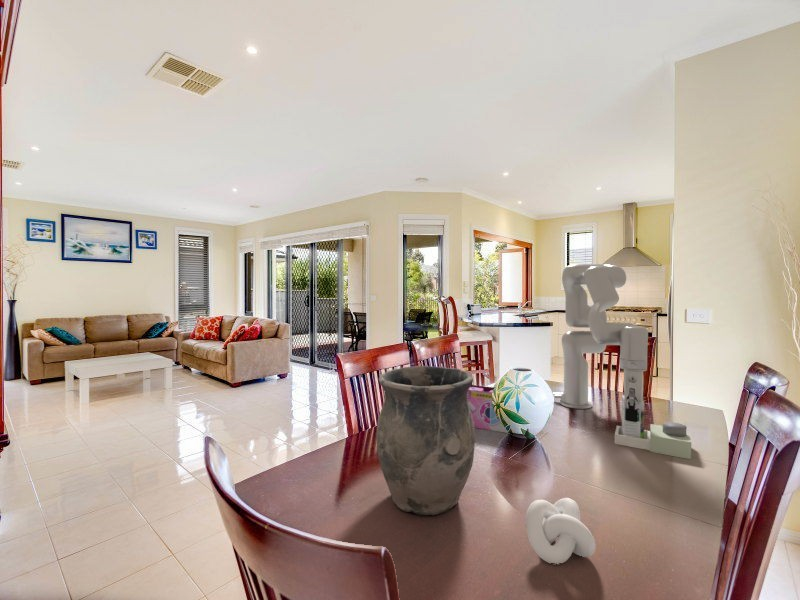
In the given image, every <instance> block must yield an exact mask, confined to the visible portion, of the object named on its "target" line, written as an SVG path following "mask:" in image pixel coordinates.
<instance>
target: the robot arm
mask: <svg viewBox="0 0 800 600" xmlns="http://www.w3.org/2000/svg"><path fill="white" fill-rule="evenodd" d="M561 282H562V285H563V290H564V294H565V322H566V325H567V326H568V327H569V328H574V329H575V328H579V329H580V328H581V329H583V328H584V329H585V328H589V330H571V331H566V332H565V333H563V335H562V337H561V346H562V353H563V392H554V391H553V393H552V395H553V394H554V398H555V399H560V400H559V404H560V405H561V406H563V407H566V408H570V409H576V410H577V409H578V410H579V409H580V410H586V409H591V408H592V407H593V402H591V401H589V364H588V363H589V362H588V361H587V359H586V358H585V356H584V355H583V354H601V353H603V352H605V350H606V348H607V346H620V348H619V350H620V351H619V352H620V353H619V369H621V370H623V391H624V392H623V395H624V396H625V400H626V401H627V408H626V421H631V422H637V421H638V409H637V400H638V401H640V403H641V402H643V400H644V372H646V371H648V344H649V341H648V340H649V330H648V329H647V328H646V327H645V326H639V325H636V324H634V323H630V322H608V320H607V313H606V310H608V309H611V308H613V307H614V306H616V304H618V303H619V302H620V297H619V294H618V291H617V289H621V288H622V287H624V286H625V284H626V282H627V274H626V272H625V270H624V268H622V267H621V266H619V265H611V264H606V263H602V264H601V263H576V264H575V263H574V264H570V265H567V266H565V267H564V269H563V271H562V275H561ZM582 285H584V286H585V285H586V287H587V289H588V290H585V288H584V287H583V286H582ZM587 291H588V292H589V295H590V298H591V300H592V302H593V303H592V304H588V293H587Z"/></svg>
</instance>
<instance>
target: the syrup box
mask: <svg viewBox="0 0 800 600" xmlns="http://www.w3.org/2000/svg"><path fill="white" fill-rule="evenodd" d="M626 408H627V401H626V400H625V396H624V394H622V395H621V426H622V435H625V436H631V437H637V438H643V439H644V430H645V400H644V399H643V402H641V403H640V401H638V400H637V409H638V421H637V422H631V421H626Z"/></svg>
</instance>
